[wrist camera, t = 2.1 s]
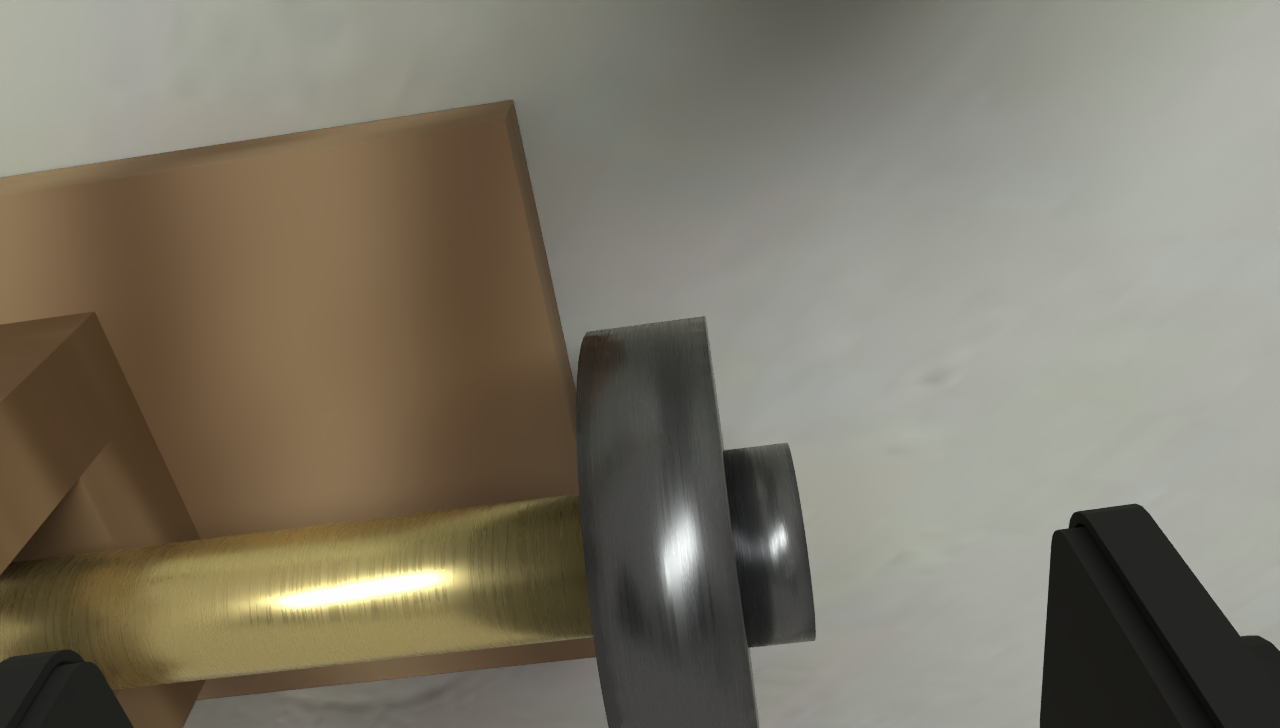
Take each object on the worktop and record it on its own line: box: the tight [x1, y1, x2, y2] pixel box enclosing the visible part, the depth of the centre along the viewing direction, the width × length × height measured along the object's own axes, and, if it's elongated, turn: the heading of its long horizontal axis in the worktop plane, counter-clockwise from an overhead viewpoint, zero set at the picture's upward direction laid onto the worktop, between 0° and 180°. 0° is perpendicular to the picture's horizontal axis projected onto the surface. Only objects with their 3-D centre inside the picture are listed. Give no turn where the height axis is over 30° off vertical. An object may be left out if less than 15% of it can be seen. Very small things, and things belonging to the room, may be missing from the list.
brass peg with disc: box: [0, 316, 816, 728], centre depth 16 cm, size 17×7×7 cm, turn 99°
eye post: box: [0, 100, 596, 728], centre depth 17 cm, size 15×12×9 cm
